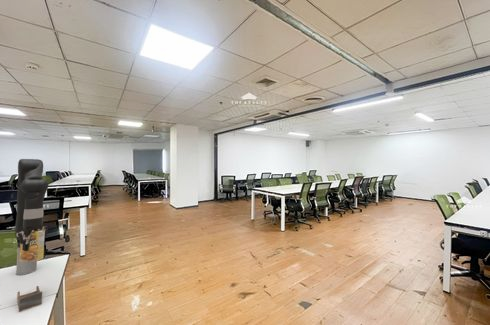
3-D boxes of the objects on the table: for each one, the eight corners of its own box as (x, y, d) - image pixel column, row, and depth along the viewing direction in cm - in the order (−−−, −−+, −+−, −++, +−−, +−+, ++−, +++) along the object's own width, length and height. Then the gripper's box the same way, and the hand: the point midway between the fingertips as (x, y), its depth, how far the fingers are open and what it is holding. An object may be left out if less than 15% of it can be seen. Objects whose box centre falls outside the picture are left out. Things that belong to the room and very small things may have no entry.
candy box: (18, 262, 108) (20, 232, 109) (26, 258, 113) (27, 229, 113) (37, 261, 109) (38, 232, 110) (44, 258, 113) (45, 229, 114)
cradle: (17, 298, 110) (17, 287, 110) (38, 292, 116) (38, 281, 116) (19, 311, 100) (19, 299, 100) (41, 304, 106) (42, 292, 106)
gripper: (43, 213, 119) (41, 243, 119) (10, 219, 105) (9, 253, 105) (53, 214, 118) (52, 244, 117) (22, 220, 104) (20, 255, 103)
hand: (32, 248), depth 111 cm, fingers closed on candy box, 5 cm apart
